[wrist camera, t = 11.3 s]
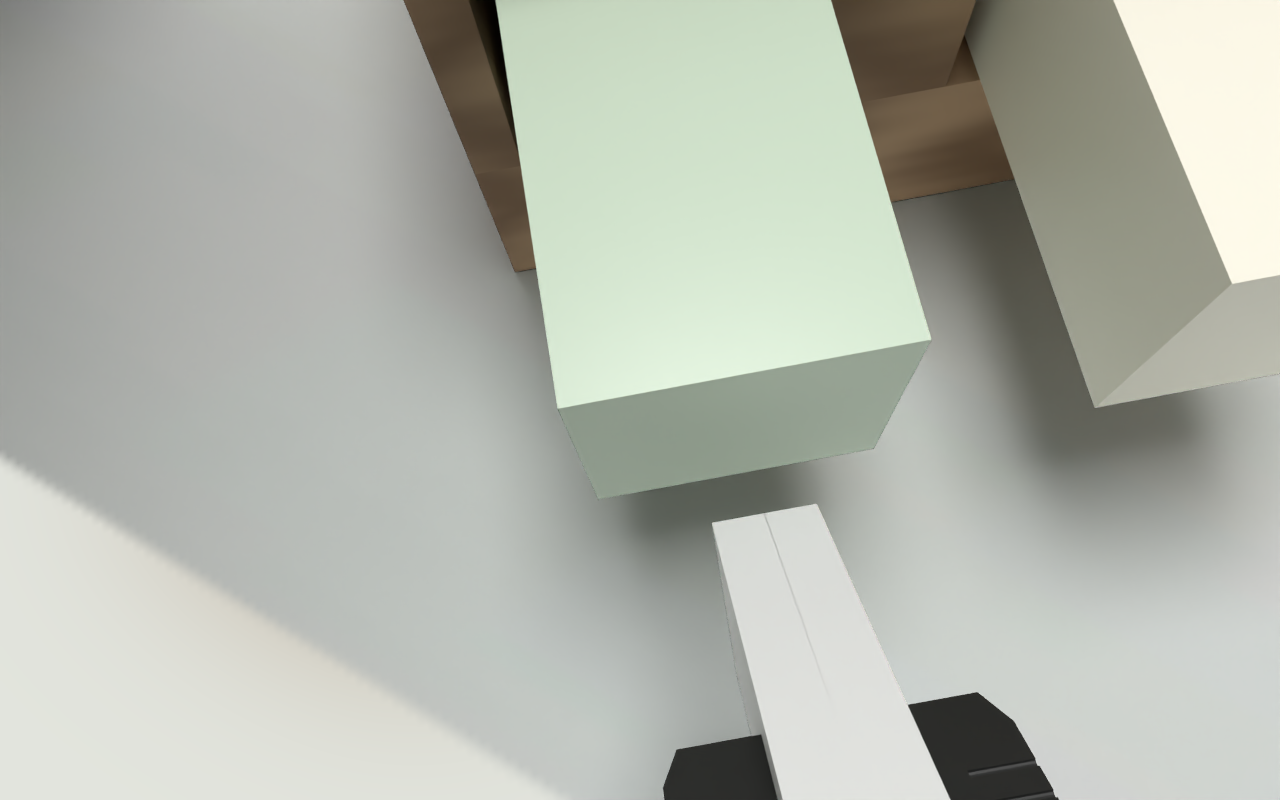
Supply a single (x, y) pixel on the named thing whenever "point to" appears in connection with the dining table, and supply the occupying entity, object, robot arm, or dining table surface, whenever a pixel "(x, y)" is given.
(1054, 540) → the dining table surface
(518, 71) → the key sage
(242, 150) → the dining table surface
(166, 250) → the dining table surface
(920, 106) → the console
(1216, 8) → the key cream
